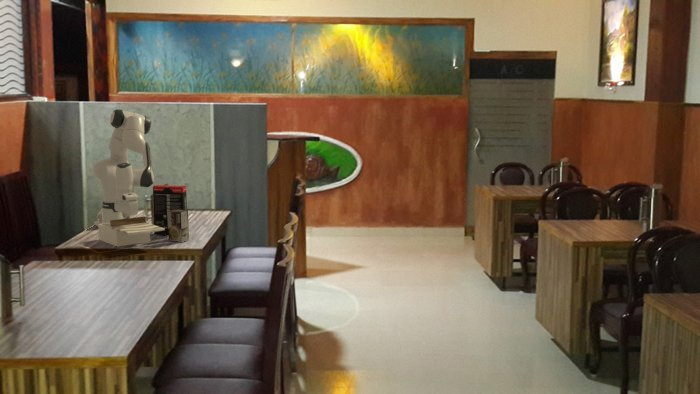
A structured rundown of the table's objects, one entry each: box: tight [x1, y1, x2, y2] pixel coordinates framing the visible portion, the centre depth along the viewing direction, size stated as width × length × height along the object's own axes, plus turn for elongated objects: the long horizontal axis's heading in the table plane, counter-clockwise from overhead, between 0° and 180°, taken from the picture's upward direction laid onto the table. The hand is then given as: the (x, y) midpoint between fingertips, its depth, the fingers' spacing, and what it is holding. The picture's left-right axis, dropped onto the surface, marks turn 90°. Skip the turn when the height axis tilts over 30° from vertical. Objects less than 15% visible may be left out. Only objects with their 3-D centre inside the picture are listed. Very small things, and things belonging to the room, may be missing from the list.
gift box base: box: [97, 223, 151, 247], centre depth 382 cm, size 22×18×9 cm
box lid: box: [110, 215, 165, 235], centre depth 369 cm, size 22×18×4 cm
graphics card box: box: [152, 184, 188, 236], centre depth 399 cm, size 17×7×27 cm, turn 84°
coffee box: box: [167, 209, 190, 243], centre depth 385 cm, size 9×6×16 cm
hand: (126, 221), depth 379 cm, fingers closed
